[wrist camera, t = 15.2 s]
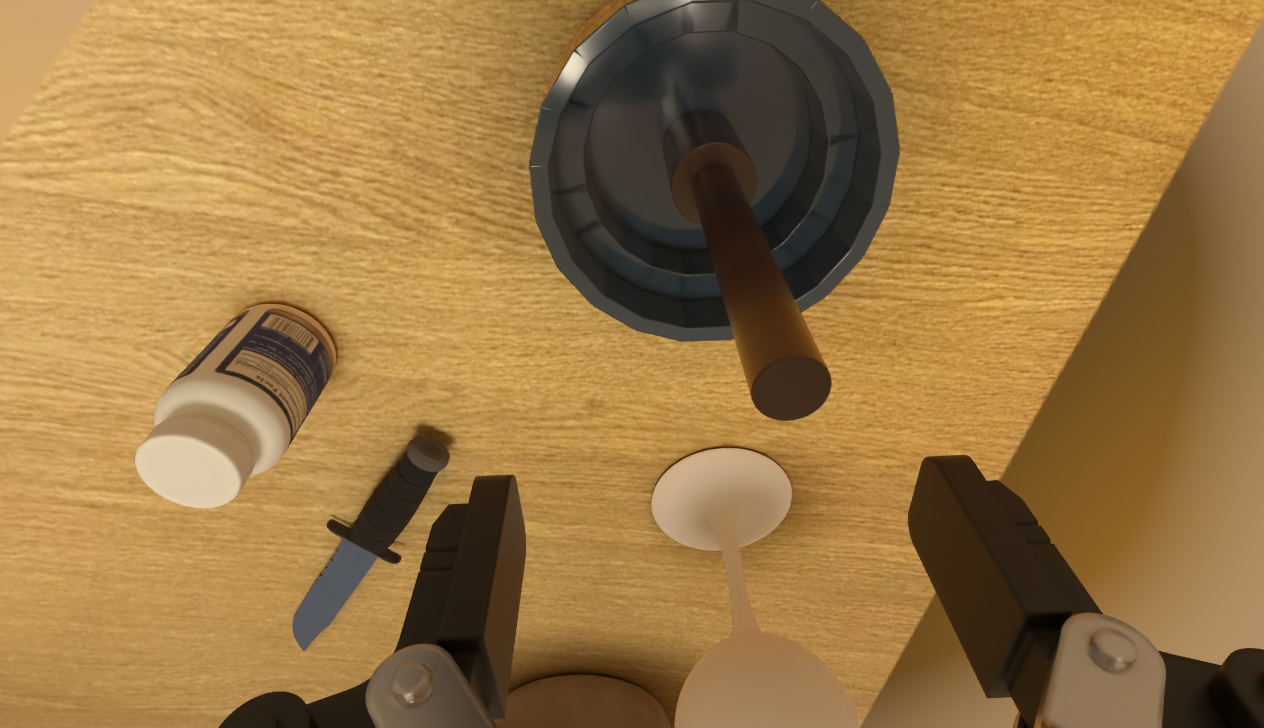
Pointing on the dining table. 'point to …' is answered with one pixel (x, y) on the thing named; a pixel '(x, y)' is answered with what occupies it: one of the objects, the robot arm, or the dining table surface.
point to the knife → (370, 536)
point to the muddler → (745, 266)
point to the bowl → (764, 122)
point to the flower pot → (582, 704)
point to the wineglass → (743, 601)
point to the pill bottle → (236, 406)
